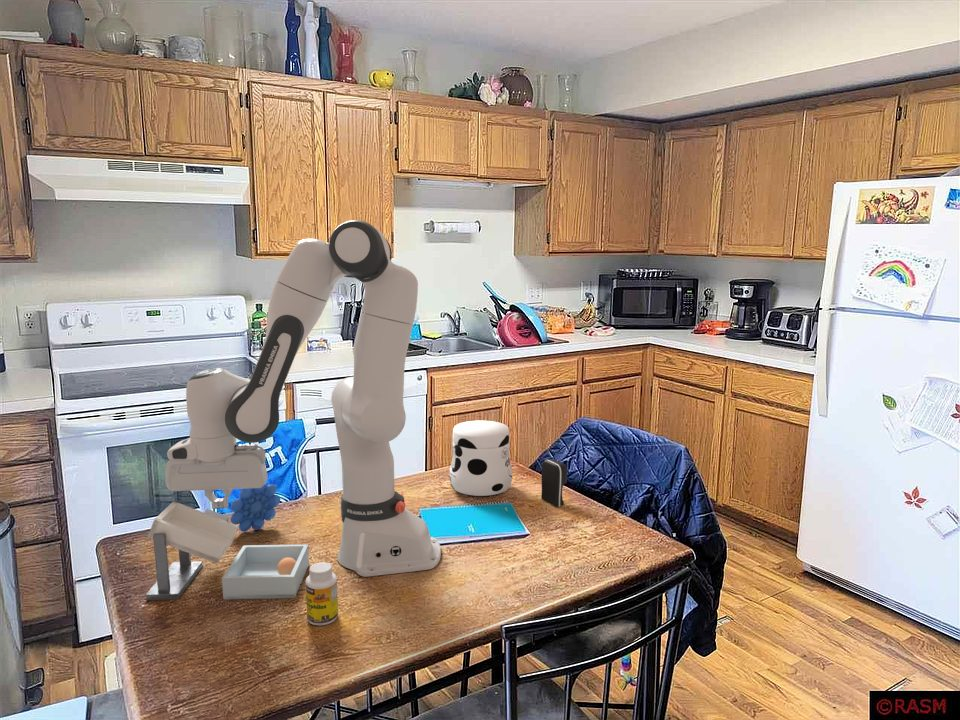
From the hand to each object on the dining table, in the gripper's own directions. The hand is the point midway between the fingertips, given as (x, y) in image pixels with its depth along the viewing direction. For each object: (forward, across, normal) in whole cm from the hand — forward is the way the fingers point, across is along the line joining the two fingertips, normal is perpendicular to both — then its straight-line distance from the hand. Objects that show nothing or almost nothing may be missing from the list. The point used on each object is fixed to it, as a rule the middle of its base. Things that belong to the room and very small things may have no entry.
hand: (220, 507), depth 141 cm
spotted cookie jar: (+14, -57, -37) cm, 70 cm away
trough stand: (+12, +7, +10) cm, 17 cm away
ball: (+9, -16, +10) cm, 21 cm away
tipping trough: (+3, +3, +6) cm, 7 cm away
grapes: (+12, -2, -15) cm, 20 cm away
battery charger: (+14, -76, -28) cm, 83 cm away
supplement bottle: (+13, -25, +24) cm, 37 cm away
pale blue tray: (+12, -12, +10) cm, 19 cm away
